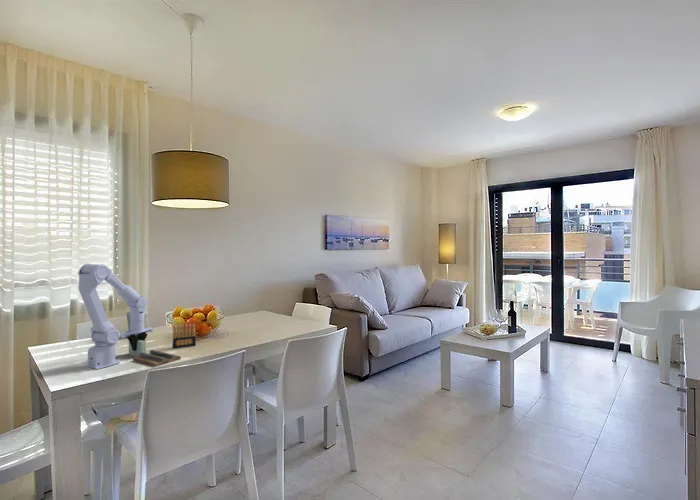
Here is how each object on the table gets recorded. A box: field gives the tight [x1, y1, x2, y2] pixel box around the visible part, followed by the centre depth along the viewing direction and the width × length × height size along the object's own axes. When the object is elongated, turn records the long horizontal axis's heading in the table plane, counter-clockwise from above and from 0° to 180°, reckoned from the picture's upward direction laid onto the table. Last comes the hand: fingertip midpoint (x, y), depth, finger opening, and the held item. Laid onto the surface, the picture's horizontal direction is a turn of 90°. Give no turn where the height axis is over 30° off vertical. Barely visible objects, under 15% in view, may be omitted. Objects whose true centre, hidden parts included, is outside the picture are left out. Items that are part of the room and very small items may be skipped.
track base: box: [132, 349, 181, 368], centre depth 164 cm, size 12×16×3 cm
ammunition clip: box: [172, 322, 197, 349], centre depth 185 cm, size 11×2×12 cm, turn 120°
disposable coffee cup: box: [125, 309, 149, 336], centre depth 204 cm, size 11×11×15 cm
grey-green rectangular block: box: [128, 339, 147, 357], centre depth 171 cm, size 2×10×7 cm, turn 62°
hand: (137, 349), depth 171 cm, fingers closed on grey-green rectangular block, 2 cm apart
